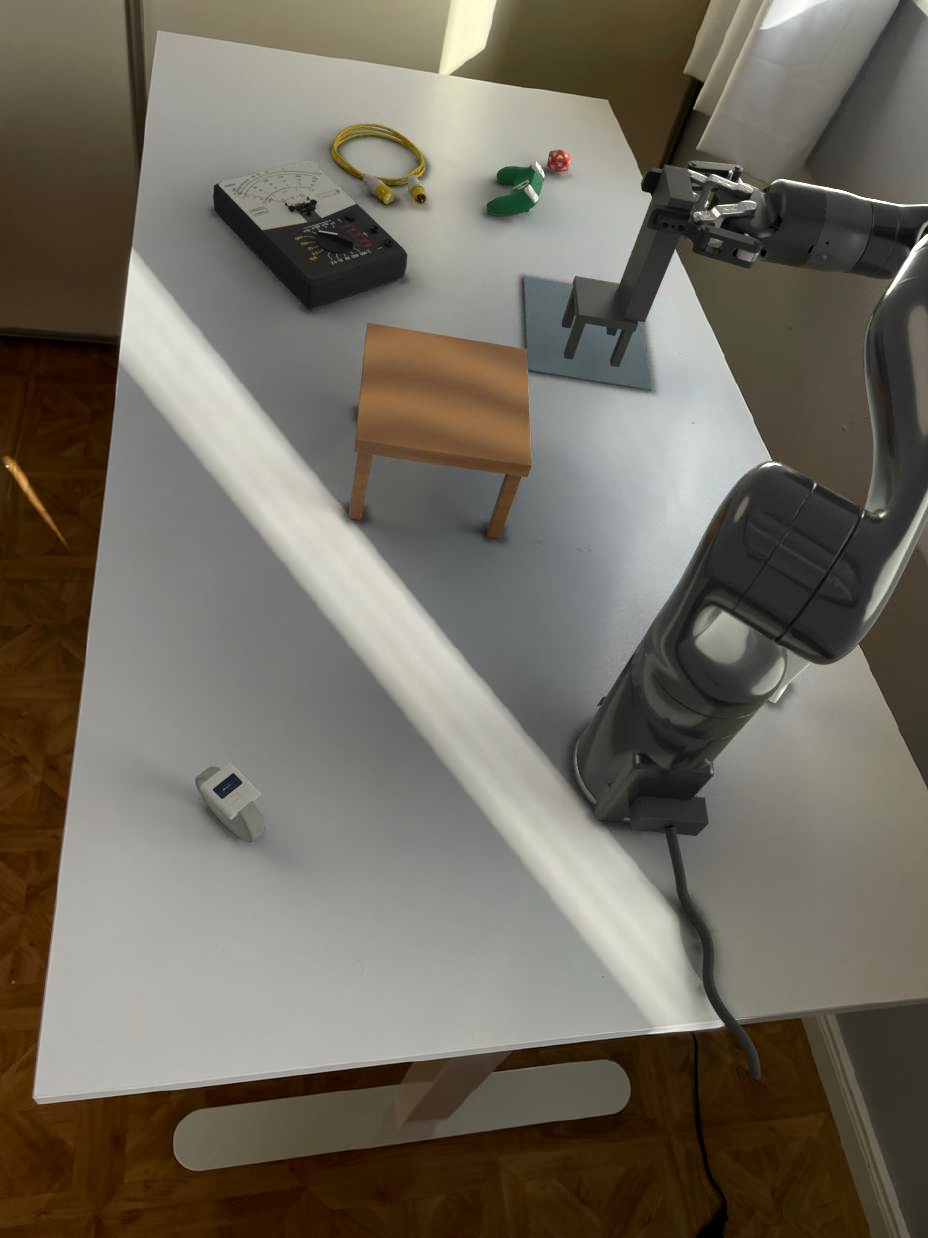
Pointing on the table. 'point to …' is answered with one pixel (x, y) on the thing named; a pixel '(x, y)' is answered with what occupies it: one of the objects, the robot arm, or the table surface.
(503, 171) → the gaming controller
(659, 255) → the chair
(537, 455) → the table surface
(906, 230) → the robot arm
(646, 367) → the mat
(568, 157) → the die
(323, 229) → the multimeter
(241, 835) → the wristwatch
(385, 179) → the extension cord
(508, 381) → the side table
